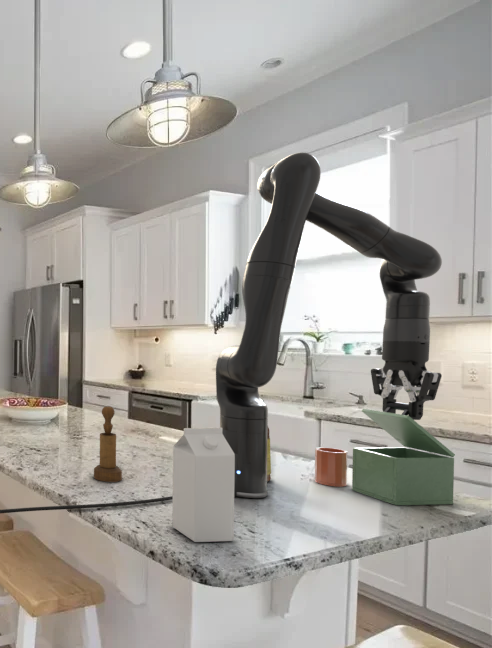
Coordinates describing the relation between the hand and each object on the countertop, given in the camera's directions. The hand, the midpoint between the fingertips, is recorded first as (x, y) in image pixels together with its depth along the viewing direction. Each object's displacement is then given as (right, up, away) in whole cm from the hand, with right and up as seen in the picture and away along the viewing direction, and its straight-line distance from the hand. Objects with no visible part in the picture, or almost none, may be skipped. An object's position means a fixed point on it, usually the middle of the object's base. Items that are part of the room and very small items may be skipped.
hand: (401, 417), depth 109 cm
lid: (+1, -4, 0) cm, 4 cm away
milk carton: (-54, -18, -20) cm, 61 cm away
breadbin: (0, -18, 0) cm, 18 cm away
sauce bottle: (-23, -18, +14) cm, 32 cm away
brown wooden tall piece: (-59, -18, +15) cm, 64 cm away
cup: (-7, -17, +11) cm, 22 cm away
